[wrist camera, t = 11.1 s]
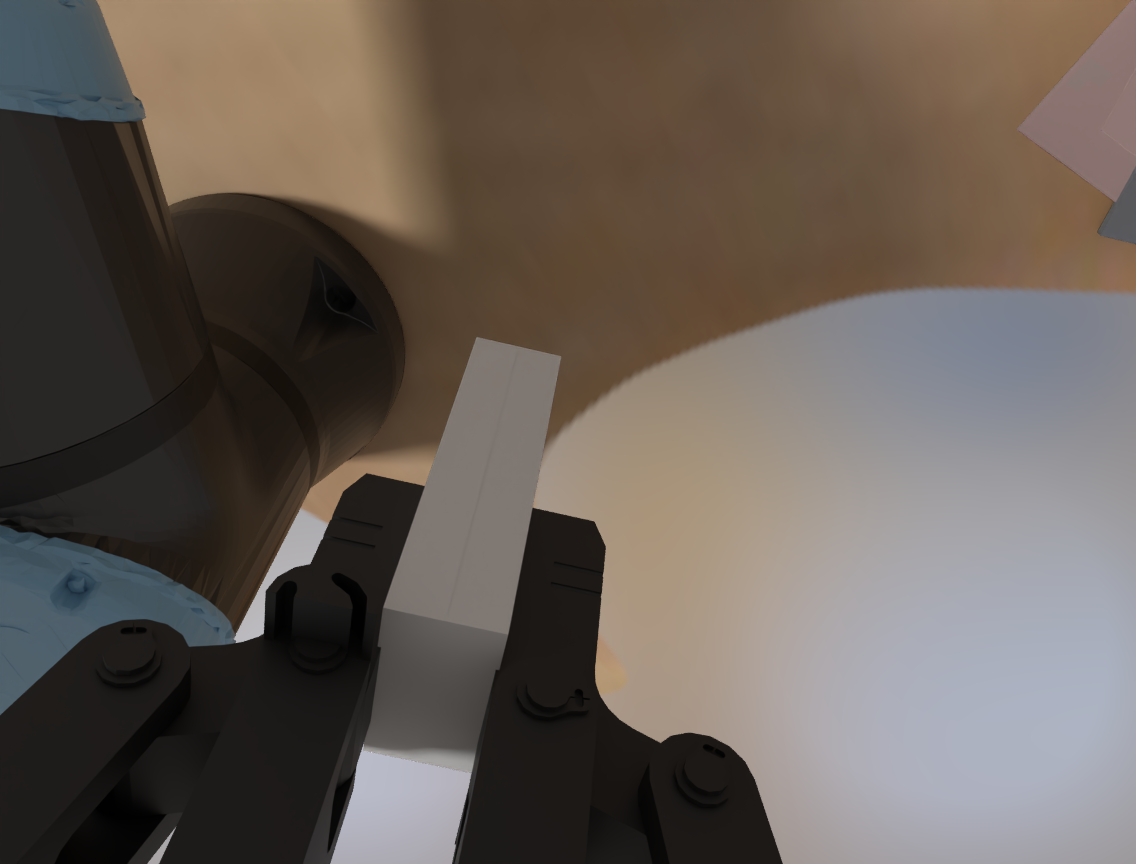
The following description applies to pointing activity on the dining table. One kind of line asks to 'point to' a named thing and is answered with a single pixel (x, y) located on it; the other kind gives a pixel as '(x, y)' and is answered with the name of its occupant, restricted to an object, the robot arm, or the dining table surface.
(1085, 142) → the greeting card
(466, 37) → the dining table surface
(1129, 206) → the mat
